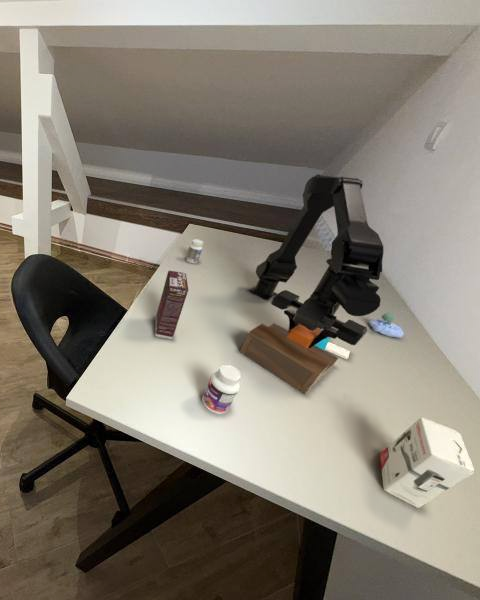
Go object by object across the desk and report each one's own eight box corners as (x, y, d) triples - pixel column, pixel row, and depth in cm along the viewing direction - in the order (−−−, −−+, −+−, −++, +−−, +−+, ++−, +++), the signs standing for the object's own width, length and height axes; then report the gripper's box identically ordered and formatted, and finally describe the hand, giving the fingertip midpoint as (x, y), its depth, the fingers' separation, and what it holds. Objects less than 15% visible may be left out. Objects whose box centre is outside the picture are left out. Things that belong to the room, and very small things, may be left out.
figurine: (372, 333, 91) (386, 315, 87) (364, 320, 96) (377, 303, 93) (405, 341, 89) (421, 323, 85) (395, 328, 94) (410, 310, 90)
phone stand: (341, 376, 75) (345, 371, 74) (288, 350, 82) (291, 346, 81) (352, 339, 88) (356, 335, 87) (306, 320, 94) (308, 315, 93)
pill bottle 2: (197, 393, 68) (211, 361, 62) (220, 393, 68) (236, 361, 63) (207, 415, 63) (223, 382, 58) (232, 414, 64) (250, 382, 58)
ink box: (377, 452, 59) (420, 414, 52) (410, 467, 57) (459, 430, 50) (382, 491, 53) (431, 453, 46) (419, 510, 51) (476, 473, 44)
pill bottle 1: (196, 264, 120) (202, 244, 116) (184, 261, 122) (190, 241, 117) (199, 260, 124) (205, 241, 119) (187, 257, 126) (193, 237, 121)
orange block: (294, 335, 83) (303, 320, 80) (312, 345, 80) (322, 330, 77) (282, 344, 79) (291, 329, 76) (300, 355, 76) (310, 340, 73)
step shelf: (269, 331, 88) (280, 311, 84) (332, 366, 78) (347, 345, 74) (239, 351, 80) (249, 331, 76) (304, 394, 70) (320, 373, 66)
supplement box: (173, 340, 82) (189, 289, 73) (154, 336, 83) (168, 286, 74) (172, 320, 89) (186, 272, 80) (155, 317, 90) (167, 269, 81)
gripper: (273, 280, 72) (248, 332, 81) (369, 324, 60) (327, 378, 69) (295, 269, 78) (269, 318, 86) (386, 307, 66) (345, 359, 74)
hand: (299, 341), depth 79 cm, fingers closed on orange block, 4 cm apart
